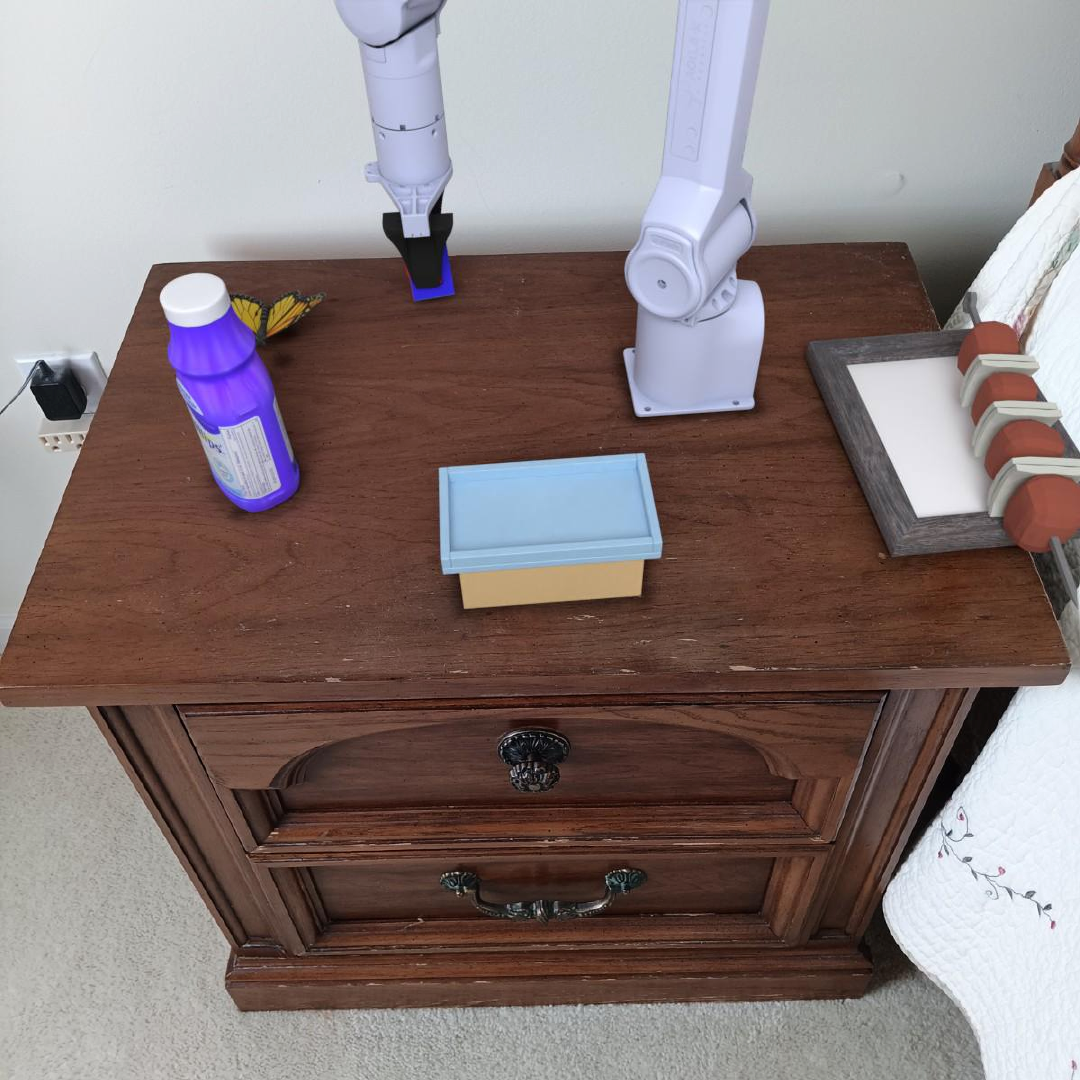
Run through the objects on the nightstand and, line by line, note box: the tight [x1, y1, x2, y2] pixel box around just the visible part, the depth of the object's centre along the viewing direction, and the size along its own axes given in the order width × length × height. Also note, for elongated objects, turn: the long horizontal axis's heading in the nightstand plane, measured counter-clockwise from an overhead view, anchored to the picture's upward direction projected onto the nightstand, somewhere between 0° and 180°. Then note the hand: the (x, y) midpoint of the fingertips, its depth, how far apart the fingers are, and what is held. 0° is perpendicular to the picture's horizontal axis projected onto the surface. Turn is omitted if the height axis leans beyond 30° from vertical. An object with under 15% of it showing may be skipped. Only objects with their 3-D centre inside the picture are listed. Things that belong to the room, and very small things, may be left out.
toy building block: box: [403, 243, 456, 302], centre depth 87 cm, size 4×4×8 cm
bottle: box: [159, 272, 301, 513], centre depth 69 cm, size 7×6×17 cm
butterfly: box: [228, 289, 327, 375], centre depth 84 cm, size 12×9×5 cm
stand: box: [438, 452, 663, 610], centre depth 68 cm, size 14×8×6 cm, turn 94°
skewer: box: [957, 291, 1080, 610], centre depth 71 cm, size 5×5×30 cm
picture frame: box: [805, 327, 1080, 558], centre depth 76 cm, size 16×2×21 cm
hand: (427, 262), depth 88 cm, fingers closed on toy building block, 6 cm apart
